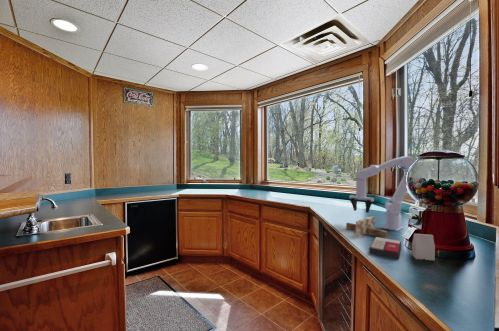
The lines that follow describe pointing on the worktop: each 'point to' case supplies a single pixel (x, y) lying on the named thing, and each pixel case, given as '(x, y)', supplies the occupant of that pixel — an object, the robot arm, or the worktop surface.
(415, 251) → the tea bag
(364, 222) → the cross piece
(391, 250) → the calculator
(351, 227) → the walnut stand
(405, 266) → the worktop surface
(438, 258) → the worktop surface
